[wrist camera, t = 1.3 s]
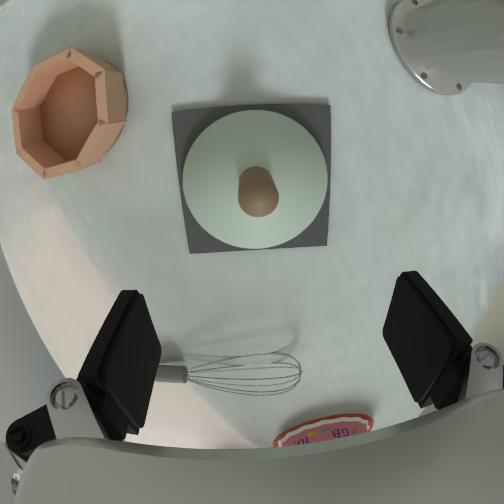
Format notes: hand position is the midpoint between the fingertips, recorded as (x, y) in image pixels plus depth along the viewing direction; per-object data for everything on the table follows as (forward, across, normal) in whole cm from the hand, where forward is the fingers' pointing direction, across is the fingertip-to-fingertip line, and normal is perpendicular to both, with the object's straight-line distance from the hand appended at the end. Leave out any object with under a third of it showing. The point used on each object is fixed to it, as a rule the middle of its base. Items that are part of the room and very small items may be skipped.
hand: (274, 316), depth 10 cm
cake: (+20, -14, +60) cm, 65 cm away
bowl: (+20, +18, -10) cm, 29 cm away
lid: (+19, 0, 0) cm, 19 cm away
